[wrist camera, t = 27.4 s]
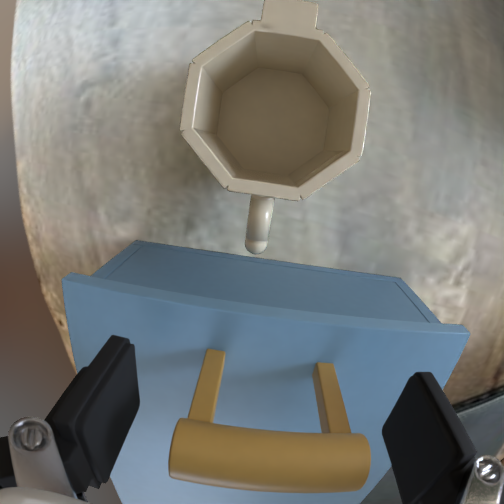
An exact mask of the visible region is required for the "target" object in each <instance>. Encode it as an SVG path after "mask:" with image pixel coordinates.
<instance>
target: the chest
mask: <svg viewBox="0 0 504 504" xmlns="http://www.w3.org/2000/svg"><path fill="white" fill-rule="evenodd" d="M91 276H92V277H97V278H102V279H107V280H112V281H117V282H122V283H127V284H132V285H138V286H143V287H148V288H154V289H160V290H165V291H171V292H177V293H183V294H189V295H195V296H201V297H207V298H214V299H220V300H227V301H233V302H240V303H247V304H254V305H261V306H269V307H276V308H284V309H292V310H300V311H308V312H317V313H326V314H335V315H344V316H354V317H364V318H375V319H386V320H398V321H411V322H425V323H440V324H442V323H441V322H440V321H439V320H438V319H437V318H436V316H435V315H434V314H433V313H432V312H431V311H430V310H429V308H428V307H427V306H426V305H425V304H424V303H423V302H422V301H421V299H420V298H419V297H418V296H417V295H416V294H415V293H414V292H413V291H412V290H411V289H410V287H409V286H408V285H407V284H406V283H405V282H404V281H403V280H402V279H401V278H397V277H389V276H382V275H375V274H368V273H361V272H353V271H346V270H339V269H332V268H325V267H318V266H311V265H304V264H297V263H290V262H283V261H276V260H269V259H262V258H255V257H248V256H241V255H234V254H227V253H220V252H213V251H206V250H199V249H193V248H186V247H179V246H172V245H165V244H158V243H152V242H145V241H138V240H136V241H134V242H133V243H132V244H130V245H129V246H128V247H127V248H125V249H124V250H123V251H121V252H120V253H119V254H117V255H116V256H115V257H114V258H112V259H111V260H110V261H109V262H107V263H106V264H105V265H104V266H102V267H101V268H100V269H98V270H97V271H96V272H95V273H94V274H92V275H91Z"/></svg>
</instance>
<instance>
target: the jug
mask: <svg viewBox="0 0 504 504" xmlns="http://www.w3.org/2000/svg"><path fill="white" fill-rule="evenodd" d="M317 13H318V3H313V2H308V1H302V0H264V4H263V9H262V15H261V21H260V20H253V21H252V23H251V22H250V21H247V22H246V23H244V24H243V25H241V26H240V27H238V28H236V29H235V30H233V31H232V32H230V33H229V34H227V35H226V36H224V37H223V38H221V39H220V40H219V41H217V42H216V43H214V44H213V45H211V46H210V47H209V48H207V49H206V50H204V51H203V52H202V53H200V54H199V55H198V56H196V57H195V58H194V59H193V60H192V62H193V63H190V64H189V69H188V75H187V81H186V87H185V94H184V100H183V107H182V114H181V121H180V130H181V131H183V132H182V133H181V135H182V137H183V138H184V139H185V140H186V142H187V143H188V144H189V145H190V147H191V148H192V149H193V151H194V152H195V153H196V154H197V156H198V157H199V158H200V159H201V161H202V162H203V163H204V164H205V166H206V167H207V168H208V170H209V171H210V172H211V173H212V175H213V176H214V177H215V178H216V180H217V181H218V182H219V184H220V185H221V186H222V187H223V188H224V189H225V188H226V187H228V188H227V190H228V191H230V192H238V193H245V194H252V195H251V201H250V208H249V215H248V222H247V229H246V238H245V247H246V249H247V250H248V251H249V252H250V253H252V254H260V253H262V252H263V251H265V249H266V248H267V244H268V238H269V232H270V225H271V219H272V212H273V206H274V199H275V198H280V199H286V200H292V201H299V200H300V198H301V199H302V200H305V199H306V198H307V197H309V196H310V195H312V194H313V193H315V192H316V191H317V190H319V189H320V188H322V187H323V186H324V185H326V184H327V183H329V182H330V181H332V180H333V179H334V178H336V177H337V176H339V175H340V174H341V173H343V172H344V171H346V170H347V169H349V168H350V167H351V166H353V165H354V164H356V163H357V162H359V158H358V157H362V154H363V148H364V141H365V135H366V128H367V120H368V113H369V105H370V97H371V90H369V89H368V88H369V87H370V86H369V84H368V83H367V82H366V80H365V79H364V78H363V76H362V75H361V74H360V72H359V71H358V70H357V68H356V67H355V66H354V65H353V63H352V62H351V61H350V59H349V58H348V57H347V56H346V54H345V53H344V52H343V51H342V50H341V48H340V47H339V46H338V45H337V44H336V42H335V41H334V40H333V39H332V38H331V36H330V35H329V34H328V33H324V34H323V30H319V29H316V22H317Z"/></svg>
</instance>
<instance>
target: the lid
mask: <svg viewBox="0 0 504 504" xmlns="http://www.w3.org/2000/svg"><path fill="white" fill-rule="evenodd" d="M62 288H63V297H64V304H65V311H66V318H67V324H68V330H69V336H70V341H71V346H72V351H73V356H74V361H75V365H76V370H77V374H78V372H79V371H80V370H81V369H82V368H83V367H85V366H87V367H88V366H89V365H90V363H91V362H92V360H93V359H94V358H95V356H96V355H97V354H98V352H99V351H100V350H101V348H102V347H103V346H104V344H105V343H106V342H107V340H108V339H109V338H110V336H111V335H116V336H121V337H125V338H128V339H129V340H130V343H131V344H134V346H135V355H136V367H137V377H138V387H139V395H140V406H139V410H138V412H137V414H136V417H135V419H134V421H133V423H132V426H131V428H130V430H129V432H128V435H127V437H126V439H125V442H124V444H123V446H122V449H121V451H120V453H119V456H118V458H117V460H116V463H115V465H114V467H113V470H112V472H111V474H110V477H111V479H112V482H113V484H114V486H115V488H116V491H117V493H118V495H119V497H120V500H121V502H122V504H359V503H360V502H361V501H362V500H363V499H364V498H365V497H366V496H367V495H368V494H369V492H370V491H371V490H372V489H373V488H374V487H375V485H376V484H377V483H378V482H379V481H380V479H381V478H382V477H383V476H384V475H385V473H386V472H387V471H388V470H389V468H390V467H391V466H392V465H391V462H390V458H389V455H388V452H387V449H386V446H385V443H384V439H383V436H382V427H383V425H384V423H385V422H386V420H387V418H388V416H389V415H390V413H391V411H392V409H393V408H394V406H395V404H396V402H397V400H398V398H399V397H400V395H401V393H402V391H403V389H404V387H405V385H406V383H407V381H408V379H409V378H410V377H411V376H413V374H414V373H415V372H431V373H432V374H433V375H434V377H435V378H436V380H437V382H438V383H439V385H440V387H441V388H442V389H443V388H444V386H445V384H446V382H447V380H448V379H449V377H450V375H451V373H452V371H453V369H454V367H455V365H456V363H457V361H458V359H459V357H460V355H461V353H462V351H463V349H464V347H465V345H466V343H467V340H468V338H469V336H470V332H469V331H468V330H467V329H466V328H465V327H464V326H463V325H457V324H440V323H425V322H411V321H398V320H386V319H375V318H364V317H354V316H344V315H335V314H326V313H317V312H308V311H300V310H292V309H284V308H276V307H269V306H261V305H254V304H247V303H240V302H233V301H227V300H220V299H214V298H207V297H201V296H195V295H189V294H183V293H177V292H171V291H165V290H160V289H154V288H148V287H143V286H138V285H132V284H127V283H122V282H117V281H112V280H107V279H102V278H97V277H92V276H87V275H82V274H78V273H73V272H71V273H70V274H68V275H67V276H65V277H64V278H63V279H62Z"/></svg>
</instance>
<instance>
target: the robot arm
mask: <svg viewBox="0 0 504 504" xmlns="http://www.w3.org/2000/svg"><path fill="white" fill-rule="evenodd" d="M139 406H140V395H139V387H138V377H137V367H136V355H135V346H134V344H131V343H130V340H129V339H128V338H125V337H121V336H116V335H111V336H110V338H109V339H108V340H107V342H106V343H105V344H104V346H103V347H102V348H101V350H100V351H99V352H98V354H97V355H96V356H95V358H94V359H93V360H92V362H91V363H90V365H89V366H88V367H87V366H85V367H83V368H82V369H81V370H80V371H79V372H78V374H77V375H76V376H75V378H74V379H73V381H72V382H71V383H70V385H69V386H68V387H67V389H66V390H65V391H64V393H63V394H62V396H61V397H60V399H59V400H58V401H57V403H56V404H55V406H54V407H53V408H52V410H51V411H50V413H49V414H48V416H47V417H46V419H45V420H42V419H41V418H37V417H24V418H21V419H19V420H17V421H16V422H14V423H13V425H12V426H11V427H10V430H9V433H8V436H6V437H1V438H0V504H91V503H88V501H87V499H86V497H85V494H84V492H86V490H87V488H88V486H92V487H94V488H97V489H99V488H100V485H101V483H102V482H103V483H106V482H107V481H108V479H109V477H110V474H111V472H112V470H113V467H114V465H115V463H116V460H117V458H118V456H119V453H120V451H121V449H122V446H123V444H124V442H125V439H126V437H127V435H128V432H129V430H130V428H131V426H132V423H133V421H134V419H135V417H136V414H137V412H138V410H139ZM382 436H383V439H384V443H385V446H386V449H387V452H388V455H389V458H390V462H391V465H392V468H393V472H394V475H395V478H396V482H397V485H398V488H399V492H400V495H401V499H402V502H403V504H504V466H503V465H502V463H501V462H500V461H499V460H498V459H497V458H495V457H493V456H490V455H482V456H480V457H478V458H477V459H475V457H474V456H475V455H476V453H477V451H476V449H475V447H474V445H473V443H472V441H471V439H470V437H469V436H468V434H467V432H466V430H465V428H464V426H463V425H462V423H461V421H460V419H459V418H458V416H457V414H456V412H455V411H454V409H453V407H452V405H451V404H450V402H449V400H448V398H447V397H446V395H445V393H444V392H443V390H442V388H441V387H440V385H439V383H438V382H437V380H436V378H435V377H434V375H433V374H432V373H431V372H415V373H414V374H413V376H411V377H410V378H409V379H408V381H407V383H406V385H405V387H404V389H403V391H402V393H401V395H400V397H399V398H398V400H397V402H396V404H395V406H394V408H393V409H392V411H391V413H390V415H389V416H388V418H387V420H386V422H385V423H384V425H383V427H382Z"/></svg>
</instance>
